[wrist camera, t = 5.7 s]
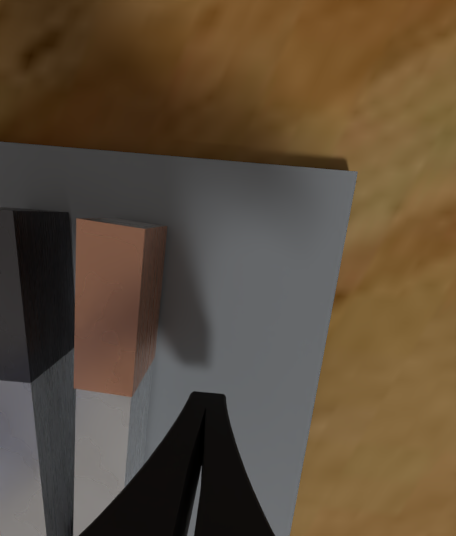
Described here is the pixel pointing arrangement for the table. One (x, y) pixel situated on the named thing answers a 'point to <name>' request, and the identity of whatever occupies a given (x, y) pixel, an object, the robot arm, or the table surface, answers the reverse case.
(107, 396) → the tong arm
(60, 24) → the table surface
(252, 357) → the slate mat
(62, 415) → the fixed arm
